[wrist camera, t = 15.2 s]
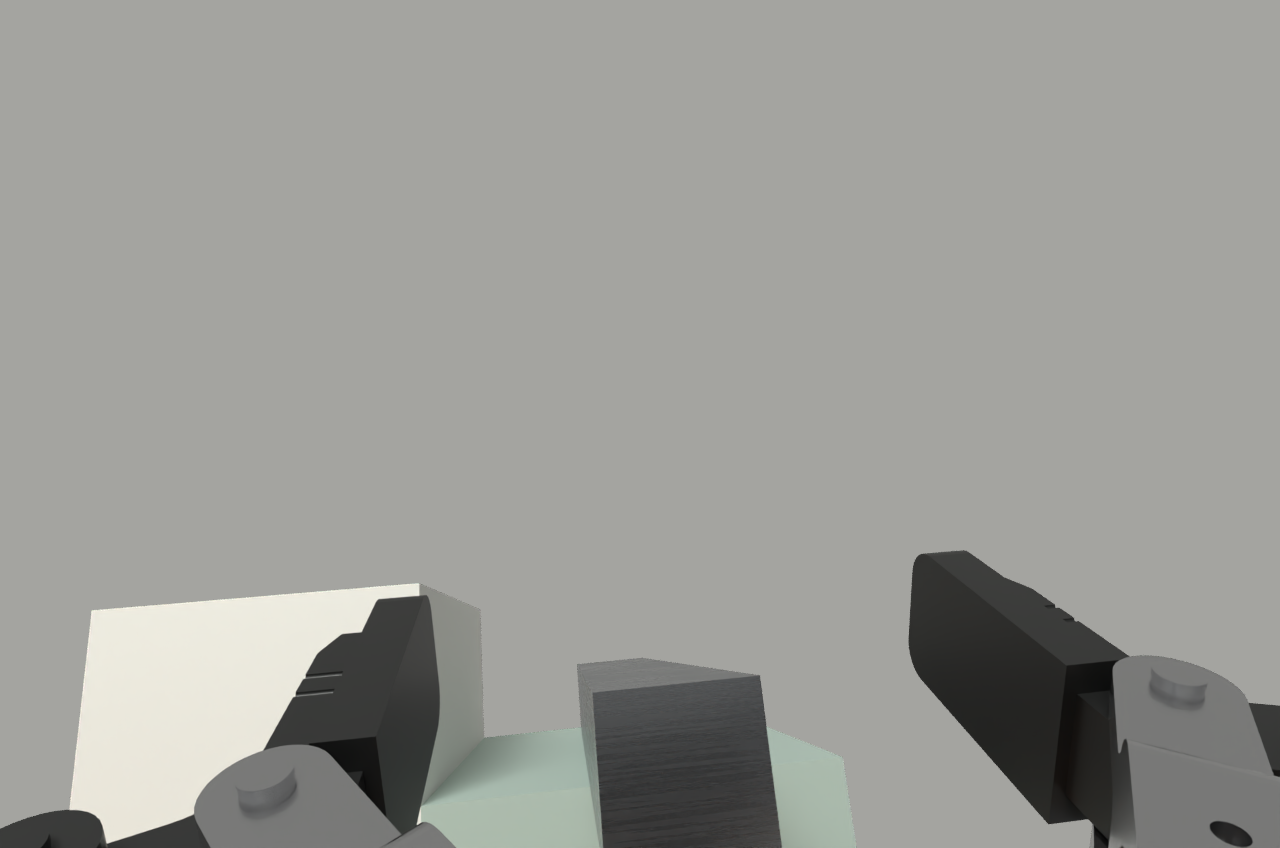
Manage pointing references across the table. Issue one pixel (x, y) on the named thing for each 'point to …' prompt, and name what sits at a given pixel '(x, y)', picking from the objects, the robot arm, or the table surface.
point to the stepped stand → (266, 683)
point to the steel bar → (677, 756)
